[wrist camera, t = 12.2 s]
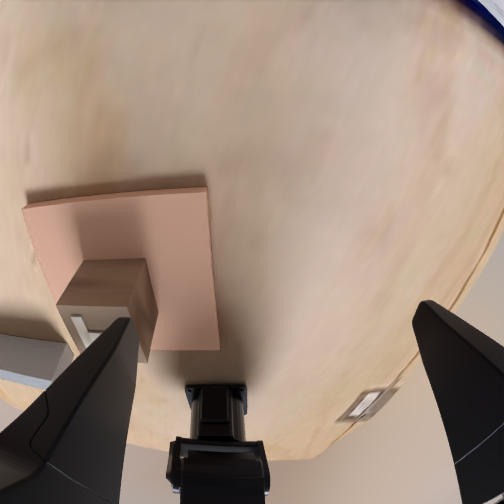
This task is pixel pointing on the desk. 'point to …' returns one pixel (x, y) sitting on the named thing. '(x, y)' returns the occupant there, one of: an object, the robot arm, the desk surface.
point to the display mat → (138, 252)
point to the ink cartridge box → (495, 8)
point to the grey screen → (32, 360)
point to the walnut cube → (109, 301)
